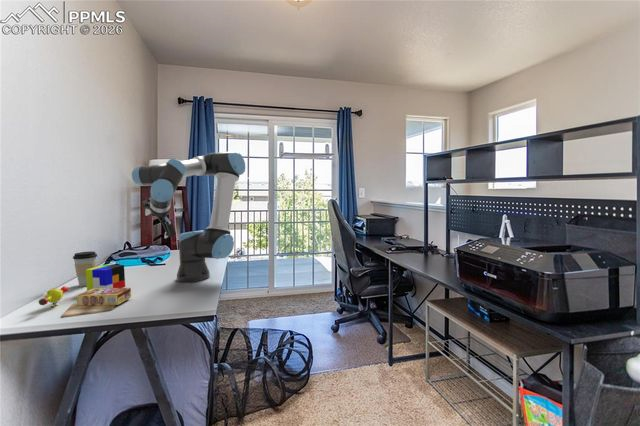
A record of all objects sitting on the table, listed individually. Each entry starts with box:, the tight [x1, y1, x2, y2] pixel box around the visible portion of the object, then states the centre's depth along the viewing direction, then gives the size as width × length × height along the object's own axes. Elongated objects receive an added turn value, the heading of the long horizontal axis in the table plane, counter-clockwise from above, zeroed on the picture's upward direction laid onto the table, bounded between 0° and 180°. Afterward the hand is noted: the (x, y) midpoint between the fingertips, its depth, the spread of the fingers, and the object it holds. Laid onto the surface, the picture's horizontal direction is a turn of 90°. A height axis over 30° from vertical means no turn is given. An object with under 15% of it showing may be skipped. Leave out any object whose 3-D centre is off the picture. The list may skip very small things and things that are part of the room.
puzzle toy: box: [86, 264, 126, 291], centre depth 144 cm, size 10×10×10 cm
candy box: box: [76, 287, 132, 306], centre depth 125 cm, size 9×4×15 cm
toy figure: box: [38, 286, 69, 308], centre depth 122 cm, size 18×6×7 cm, turn 16°
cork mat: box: [61, 303, 116, 318], centre depth 120 cm, size 15×13×1 cm
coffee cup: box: [72, 250, 98, 287], centre depth 152 cm, size 9×9×15 cm
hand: (157, 225), depth 149 cm, fingers open, 13 cm apart
